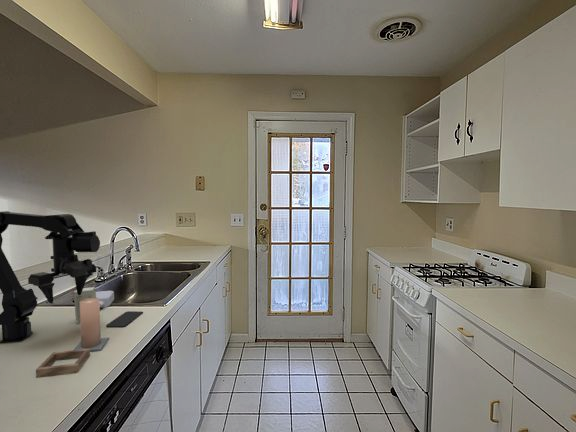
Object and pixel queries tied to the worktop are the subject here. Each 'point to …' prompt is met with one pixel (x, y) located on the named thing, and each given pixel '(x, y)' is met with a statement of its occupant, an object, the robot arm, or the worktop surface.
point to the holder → (49, 370)
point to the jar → (90, 322)
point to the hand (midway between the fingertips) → (65, 298)
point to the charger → (105, 298)
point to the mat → (96, 348)
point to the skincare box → (84, 295)
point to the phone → (124, 319)
